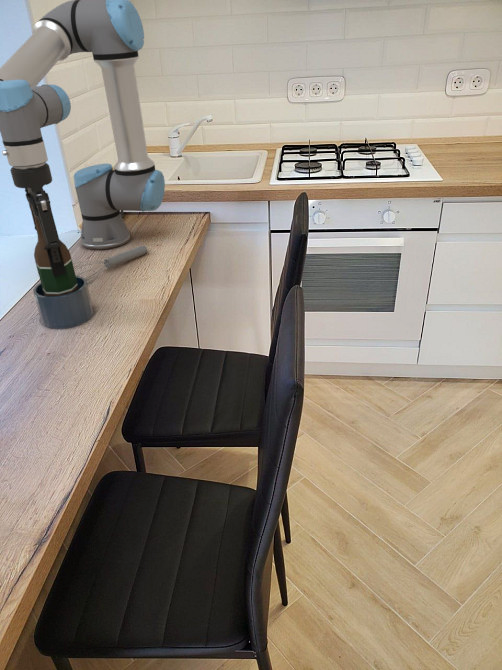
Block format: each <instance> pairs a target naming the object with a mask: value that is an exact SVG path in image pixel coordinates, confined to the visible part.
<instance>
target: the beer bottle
mask: <svg viewBox="0 0 502 670" xmlns="http://www.w3.org/2000/svg"><path fill="white" fill-rule="evenodd" d="M31 210H32V211H33V209H32V206H31V209H30V211H31ZM36 211H37V210H36ZM33 214H34V212H33ZM34 219H35V224H36V229H37V231H36V233H37V234H36V235H37V242H36V245H35V247H34V253H33V257H34V262H35V265H36V270H37V273H38V277H39V280H40V281H39V282H40V283H41V285H42V288H43V292H44V296H48V297H54V296H62V295H67V294H70V293H72V292H75V291H77V290H79V288H78V284H77V279H76V276H77V274H76V272H75V268H74V267H75V266H74V264H73V263H74V262H73V257H72V255H71V253H70V250H69V249H68V247H67V245H66V244H65V242H63V241H62V240H61V239H60V238H59V240H60V242H61V246H60V250H61V254H62V258H63V262H64V266H65V270H66V274H63V275H59V276H55V277H54V276H53V273H52V269H51V266H50V262H49V258H48V254H47V250H44V248H43V247H45V246H46V242H45V239H44V236H43V233H42V229H41V226H40V223H39V220H38V218H37V217H35V215H34Z"/></svg>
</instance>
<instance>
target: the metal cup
mask: <svg viewBox="0 0 502 670" xmlns="http://www.w3.org/2000/svg"><path fill="white" fill-rule="evenodd" d="M76 279H77V284H78V288H79V290H77V291H75V292H72V293H70V294H67V295H62V296H54V297H48V296H44V292H43V288H42V285H41V282H39V283H38V284H37V285H36V284H35V286H34V288H33V291H32V292H33V296H34V300H35V303H36V306H37V311H38V315H39V317H40V320H41V323H42V324H43V326H45V327H46V328H49V329H55V330H62V329H63V330H64V329H69V328H74V327H78V326H80V325H82V324H84V323H86V322H87V321H89V320H90V319H91V318H92V316H93V315H94V307H93V304H92V299H91V294H90V289H89V286H88V285H89V284H88V281H87V278H85V277H83V276H81V275H78V276H77V275H76Z"/></svg>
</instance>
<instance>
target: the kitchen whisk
mask: <svg viewBox="0 0 502 670" xmlns="http://www.w3.org/2000/svg"><path fill="white" fill-rule="evenodd" d="M147 246H148V247H147ZM150 248H151V246H150V245H149V244H145V245H140V246H137V247H134V248H132V249H128V250H126V251H123V252H121V253H118V254H115V255H112V256H111V257H107V258H105V259H104V260H87V261H86V264H85V263H83V261H79V262H77V264H79V265H75V264H76V262H73V265H75V266H73V267H74V269H75V268H79V267H85V266H86V265H87V266H91V265H92V264H94V265H97V264H99V263H102V265H99V266H96V267H93V268H90V269H88V270H85V271H83V272H80V273H78V274H76V276H81V275H83V274H86V273H89V272H91V271H94V270H96V269H98V268H99V270H98V271H96V272H95V273H93V274H92V275H90V276H88V277H86V281H87V284H89V283H90V282H92V281H93V280H94V279H95V278H97V277H98V276H100V274H101V273H103V272H104V271H105V270H106V269H111V268H114V267H116V266H118V265H121V264H123V263H126V262H129V261H131V260H134V259H136V258H139V257H141V256H144V255H146V254H147V253H148V251H149V250H150ZM80 263H83V264H80ZM101 267H102V268H101ZM100 268H101V269H100Z"/></svg>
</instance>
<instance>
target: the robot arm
mask: <svg viewBox="0 0 502 670" xmlns="http://www.w3.org/2000/svg"><path fill="white" fill-rule="evenodd" d="M144 44H145V32H144V26H143V22H142V19H141V17H140V14H139V12H138V10H137V8H136V7H135V5H134V4H133V3H132V1H130V0H67V1H64V2H63V3H61V4H59V5H57V6H56V7H54V8H53V9H51V10H50V11H48V12H47V13H45V15H43V16H42V17H41V18H40V19H39V20H38V21H37V22H36V23H35V24H34V26H33V28H32V34H31V35H30V36H29V37H28V38H27V40H26V41H24V43H23V44H22V45H20V47H19V48H18V49H17V50H16V51H15V52H14V53H13V54H12V55H11V56H10V57H9V58H8V59H7V60H6V61H5V62H4V63H3V64H2V65H1V66H0V135H1V139H2V141H1V142H2V144H3V148H4V149H5V150H2V151H1V152H2V155H3V156H5V157H6V159H7V162H8V165H9V166H10V167H11V168H10V174H11V178H12V181H13V185H14V186H15V187H16V188H18V189H24V192H25V198H26V201H27V202H28V206H29V209H30V213H31V217H32V221H33V225H34V230H35V232H37V229H36V224H35V219H34V215H35V217H37V218H38V220H39V223H40V226H41V229H42V233H43V236H44V239H45V242H46V246H45V247H43V248H44V250H47V254H48V258H49V262H50V266H51V269H52V273H53V276H54V277H55V276H59V275H63V274H66V270H65V266H64V262H63V258H62V254H61V250H60V246H61V242H60V240H61V239H60V237H59V233H58V230H57V225H56V222H55V218H54V214H53V212H52V205H51V200H50V196H49V193H48V192H46V189H45V190H44V186H48V185H50V184H51V183H52V182H53V176H52V172H51V168H50V165H49V164H48V161H49V158H48V154H47V149H46V145H45V142H44V139H43V135H42V131H41V130H42V128H46V127H49V126H52V125H57V124H59V123H61V122H62V121H65V120H66V119H67V118H68V117H70V114H71V109H72V106H71V105H72V104H71V99H70V97H69V96H68V94H67V92H66V91H65V90H64V89H63V88H62V87H61V86H59V85H57V84H51V83H50V84H41V85H39V84H40V83H41V81H42V80H43V79H44V78H45V77H46V75H48V74H49V72H50V71H51V70H52V69H53V68H54V67H55V66H56V64H57V63H58V62H60V61H64V60H66V59H68V57H69V56H70V55H73V54H78V53H92V59H93V62H94V63H95V64H97V65H98V66H99V68H100V69H101V74H102V80H103V85H104V86H103V87H104V90H105V97H106V101H107V107H108V113H109V118H110V119H109V120H110V123H111V129H112V135H113V140H114V145H115V151H116V157H117V162H116V163H115V164H114V165H112V164H111V163H101V164H100V163H98V164H94V165H89V166H87V167H83V168H81V169H78V170H76V171H75V173H74V174H73V182H74V189H75V193H76V196H77V202H78V206H79V210H80V215H81V219H82V222H81V223H82V224H81V230H80V231H81V232H80V244H81V246H82V247H83V248H85V249H88V250H93V251H94V250H95V251H96V250H97V251H101V250H110V249H114V248H118V247H122V246H124V245H127V243H129V242H130V240H131V233H130V230H129V228H128V227H127V224H126V223H125V221H124V218H125V213H124V211H133V212H142V213H143V212H151V211H152V212H153V211H157V210H158V209H159V208H160V207H161V205H162V202H163V200H164V196H165V190H166V189H165V188H166V183H165V182H166V180H165V176H164V174H163V172H162V171H161V170H159V169H156V164H155V161H154V160H152V159H151V158H150V157H149V154H148V146H147V140H146V134H145V128H144V122H143V116H142V108H141V102H140V95H139V87H138V81H137V75H136V69H135V64H136V62H137V61H138V59H139V57H140V56H139V51H140V50H142V49H143V47H144ZM31 206H32V209H33V211H32V210H31ZM36 210H37V211H36ZM120 210H121V211H120ZM33 212H34V214H33ZM59 239H60V240H59Z"/></svg>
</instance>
